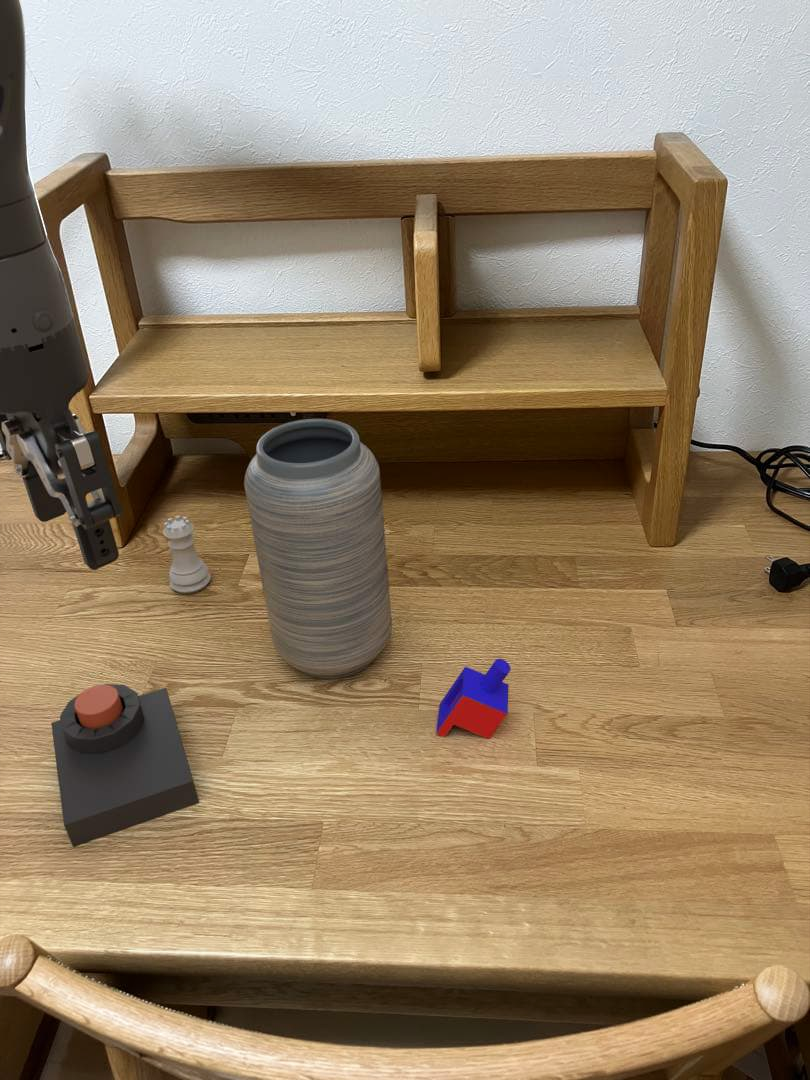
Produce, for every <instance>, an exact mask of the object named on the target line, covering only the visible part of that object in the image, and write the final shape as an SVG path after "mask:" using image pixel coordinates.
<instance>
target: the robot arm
mask: <svg viewBox="0 0 810 1080" xmlns="http://www.w3.org/2000/svg"><path fill="white" fill-rule="evenodd" d="M26 48H27V47H26V29H25V20H24V14H23V10H22V5H21V1H20V0H0V447H1V453H2V456H3V457H5V458H6V460H7V461H11V460H12V463H13V469H14V472H15V473H16V474H17V475H18V476H19V477H21V478H22V480H23V483H24V487H25V490H26V493H27V495H28V498H29V502H30V504H31V507H32V510H33V513H34V516H35V517H36V518H37V520H39V522H42V523H47V522H49V521H51V520H55V519H57V518H59V517H62V516H64V515H65V514H66V513H67V516H68V518H69V521H70V522H71V524H72V527H73V529H74V534H75V537H76V540H77V543H78V546H79V550H80V552H81V557H82V559H83V563H84V564H85V565H86V566H87V568H89V569H90V570H92V571H96V570H98V569H101V568H104V567H105V566H108V565H110V564H113V563H114V562H116V561H117V560H118V558H119V556H120V552H119V549H118V545H117V542H116V537H115V535H114V531H113V528H112V525H111V521H110V520H112V519H114V518H117V517H120V516H122V515H123V511H122V505H121V503H120V500H119V497H118V494H117V490H116V486H115V484H114V481H113V476H112V473H111V470H110V467H109V464H108V460H107V457H106V453H105V450H104V446H103V443H102V437H100V434H98V433H97V431H96V430H94V429H93V430H91V431H87V432H86V430H85V427H84V425H83V424H82V421H81V420H80V418H79V416H78V415H77V414H75V413H74V414H73V412H72V410H71V409H70V403H71V401H72V400H73V399H74V397H75V396H76V395H77V394H78V393H80V392H81V391H83V390H84V388H85V387H86V386H87V384H88V381H89V376H90V374H89V368H88V365H87V361H86V358H85V353H84V350H83V346H82V343H81V342H82V341H81V339H80V335H79V332H78V328H77V324H76V320H75V317H74V314H73V310H72V306H71V303H70V298H69V295H68V294H69V293H68V290H67V287H66V284H65V280H64V277H63V273H62V271H61V269H60V266H59V263H58V261H57V259H56V256H55V254H54V252H53V249H52V246H51V244H50V241H49V238H48V233H47V230H46V225H45V222H44V219H43V215H42V212H41V209H40V205H39V201H38V197H37V193H36V191H35V190H36V189H35V186H34V183H33V180H32V175H31V172H30V164H29V155H28V154H29V153H28V138H27V137H28V132H27V131H28V130H27V129H28V127H27V109H26V72H27V71H26V65H27V63H26V61H27V60H26V57H27V56H26V55H27V54H26V53H27V51H26V50H27V49H26ZM62 474H63V475H64V478H59V477H58V475H62ZM89 494H91V496H92V498H93V499H92V500H91V501H87V495H89Z"/></svg>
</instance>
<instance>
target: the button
mask: <svg viewBox="0 0 810 1080" xmlns="http://www.w3.org/2000/svg"><path fill="white" fill-rule="evenodd" d="M77 695H78V697H77V698H76V700H75V703H74V707H75V710H76V713H77V715H78V718H79V721H80V723H81V724H82V725H83V726H84V727H86V728H91V729H97V728H100V727H104V726H107V725H110V724H111V723H112V722H114V721H115V720H117V719H118V718H119V717H120V716H121V714H122V711H123V707H122V704H121V701H120V698H119V694H118V691H117V690H116V689H115V688H114V687H112V686H110V685H104V684H96V685H93V686H90V687H88V688H86V689H84V690H83V691H82V692H80V693H79V694H77Z"/></svg>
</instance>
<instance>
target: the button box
mask: <svg viewBox="0 0 810 1080" xmlns="http://www.w3.org/2000/svg"><path fill="white" fill-rule="evenodd" d="M103 685H110V686H112V687H114V688H115V689H116V690H117V691H118V694H119V698H120V701H121V704H122V707H123V711H122V714H121V716H120V717H119V718H118V719H117V720H115V721H114V722H112V723H111V724H110V725H107V726H104V727H100V728H97V729H91V728H86V727H84V726H83V725H82V724H81V723H80V721H79V718H78V715H77V713H76V710H75V707H74V703H75V700H76V698H77V697H78V695H79V694H77V695H76V696H74V697H73V698H72V699H70V700H68V702H67V704H66V705H65V707H64V708H63V711H62V712H61V714H59V715H60V716H59V720H56V721H53V722H51V731H52V740H53V749H54V755H55V763H56V771H57V781H58V787H59V788H58V789H59V795H60V804H61V814H62V819H63V826H64V828H65V832H66V834H67V836H68V838H69V840H70V843H71V845H72V847H73V848H75V847H79V846H80V845H81V846H82V845H84V844H86V843H89V842H93V841H95V840H98V839H101V838H104V837H107V836H109V835H112V834H115V833H118V832H120V831H124V830H126V829H127V830H128V829H130V828H132V827H135V826H138V825H141V824H143V823H144V824H145V823H146V822H149V821H152V820H156V819H158V818H160V817H163V816H166V815H169V814H172V813H174V812H179V811H181V810H183V809H186V808H189V807H193V806H195V805H197V804H200V800H199V796H198V793H197V789H196V786H195V781H194V778H193V775H192V772H191V768H190V764H189V760H188V758H187V755H186V750H185V748H184V744H183V741H182V740H183V739H182V737H181V733H180V730H179V727H178V724H177V719H176V716H175V713H174V709H173V706H172V703H171V699H170V695H169V693H168V690H167V687H163V688H162V687H161V688H160V689H157V690H154V691H150V692H146V693H143V694H140V695H139V694H138V692H137V691H135V690H134V689H132V688H131V687H129V686H127V685H125V684H118V683H103Z"/></svg>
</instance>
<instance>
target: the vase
mask: <svg viewBox="0 0 810 1080" xmlns="http://www.w3.org/2000/svg"><path fill="white" fill-rule="evenodd" d="M360 439H361V438H360V436H359V433H358V431H356V429H355V428H354V427H352V426H351V425H349V424H347V423H345V422H342V421H338V420H335V419H329V418H305V419H297V420H294V421H289V422H286V423H283V424H280V425H278V426H275V427H273V428H271V429H270V430H268V431H267V432H265V434H263V435H261V437H260V438H259V440H258V442H257V444H256V447H255V448H256V450H255V452H256V454H255V455H254V456H253V458H251V460H250V462H249V464H248V466H247V468H246V470H245V474H244V482H243V485H244V491H245V496H246V503H247V508H248V509H247V510H248V513H249V520H250V524H251V530H252V531H251V532H252V535H253V536H252V537H253V543H254V548H255V553H256V559H257V563H258V564H257V565H258V570H259V575H260V581H261V586H262V592H263V597H264V602H265V603H264V604H265V609H266V613H267V620H268V625H269V631H270V637H271V641H272V645H273V647H274V649H275V650H276V653H278V655H279V656H280V657H281V659H282V660H284V661H285V663H287V664H289V665H290V666H292V667H293V668H295V669H297V670H299V671H300V672H301V673H303V674H304V675H308V677H312V678H316V679H323V680H334V679H342V678H346V677H350V676H353V675H355V674H358V673H359V672H361V671H363V670H364V669H366V668H368V667H369V665H370V664H371V663H372V662H373V661H374V660H375V659H376V658H377V657H378V656H379V655H380V654H381V653H382V651H383V650H384V649H385V647H386V646H387V644H388V642H389V640H390V637H391V635H392V627H393V620H392V606H391V593H390V583H389V569H388V568H389V567H388V556H387V545H386V534H385V533H386V531H385V520H384V509H383V508H384V507H383V495H382V484H381V483H382V482H381V473H380V472H381V471H380V466H379V462H378V461H377V458H376V457H375V455H374V453H373V452H372V451H371V450H370V449H369V448H368V446H366V445H365V444H364V443H363V442H361V441H360Z"/></svg>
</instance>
